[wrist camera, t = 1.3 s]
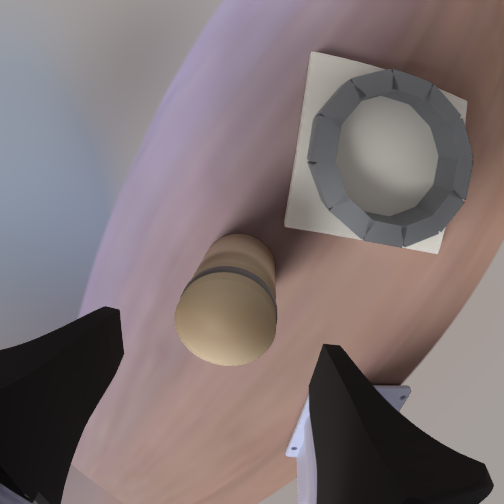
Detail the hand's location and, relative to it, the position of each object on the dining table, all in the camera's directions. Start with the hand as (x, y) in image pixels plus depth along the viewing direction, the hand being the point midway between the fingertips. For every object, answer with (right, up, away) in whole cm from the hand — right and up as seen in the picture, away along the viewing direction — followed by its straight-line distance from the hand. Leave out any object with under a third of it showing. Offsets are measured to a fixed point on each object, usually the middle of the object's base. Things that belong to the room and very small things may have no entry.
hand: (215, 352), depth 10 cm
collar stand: (+8, +9, +5) cm, 13 cm away
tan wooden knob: (+1, +3, +7) cm, 8 cm away
